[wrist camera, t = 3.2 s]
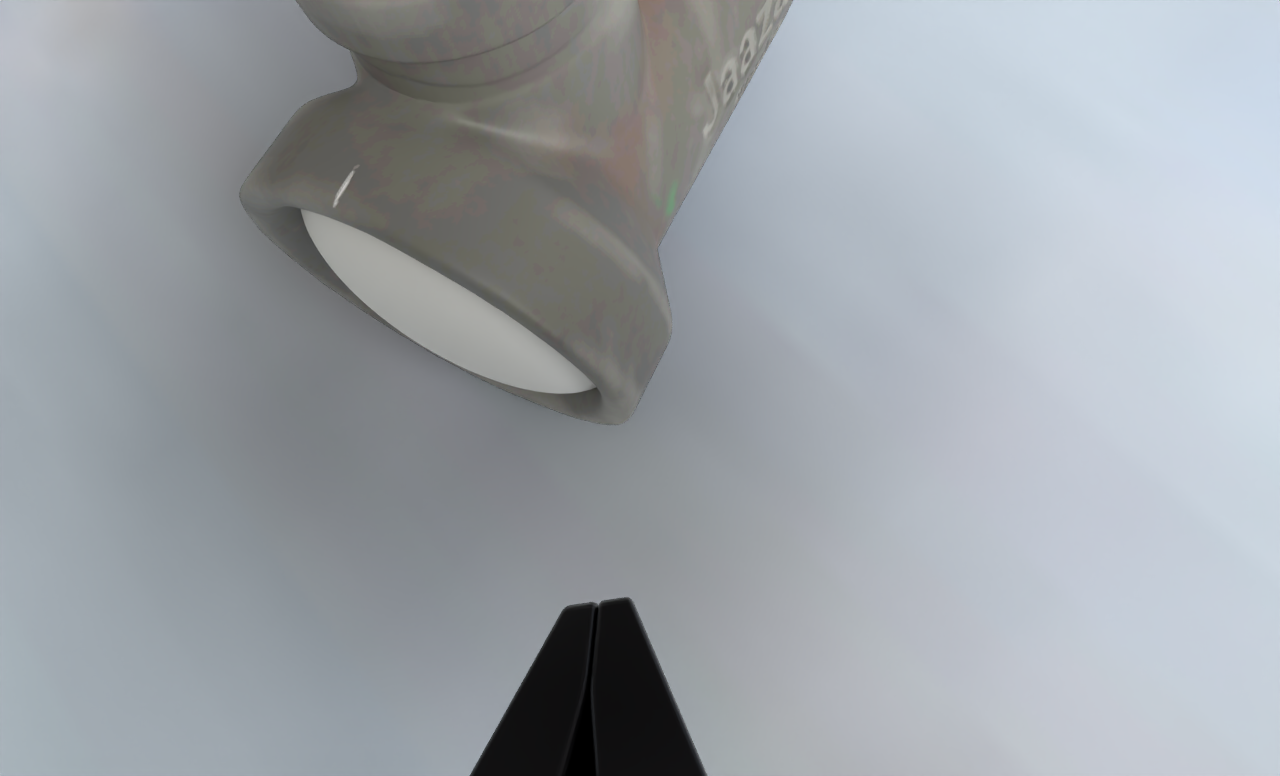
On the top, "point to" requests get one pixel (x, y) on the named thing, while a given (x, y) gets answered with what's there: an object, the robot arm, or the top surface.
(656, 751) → the robot arm
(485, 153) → the pipe fitting
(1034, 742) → the top surface
